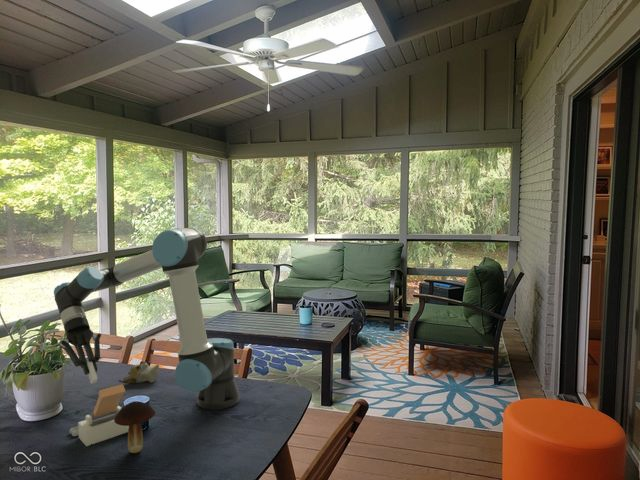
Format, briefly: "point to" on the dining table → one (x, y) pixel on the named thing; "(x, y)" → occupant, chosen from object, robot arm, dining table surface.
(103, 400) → the lever
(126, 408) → the decorative mushroom
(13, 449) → the dining table surface
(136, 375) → the ceramic sculpture
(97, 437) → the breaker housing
